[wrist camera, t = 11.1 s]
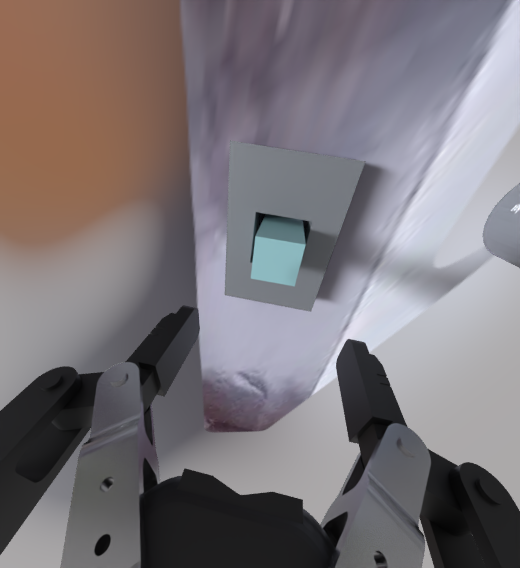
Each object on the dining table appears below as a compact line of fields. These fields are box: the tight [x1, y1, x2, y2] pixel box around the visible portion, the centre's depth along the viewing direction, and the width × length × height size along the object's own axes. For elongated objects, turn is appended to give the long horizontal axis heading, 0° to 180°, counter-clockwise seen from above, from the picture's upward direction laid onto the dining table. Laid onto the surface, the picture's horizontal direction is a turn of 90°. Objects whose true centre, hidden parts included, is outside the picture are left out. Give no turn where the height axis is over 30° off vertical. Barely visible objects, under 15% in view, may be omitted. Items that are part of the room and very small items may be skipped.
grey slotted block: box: [225, 141, 365, 311], centre depth 22 cm, size 16×11×4 cm
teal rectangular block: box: [251, 214, 306, 286], centre depth 20 cm, size 4×4×8 cm
